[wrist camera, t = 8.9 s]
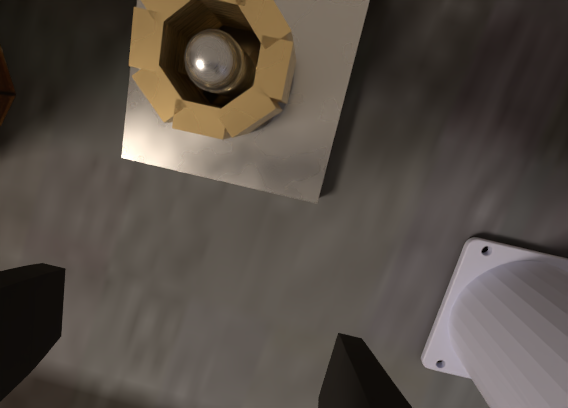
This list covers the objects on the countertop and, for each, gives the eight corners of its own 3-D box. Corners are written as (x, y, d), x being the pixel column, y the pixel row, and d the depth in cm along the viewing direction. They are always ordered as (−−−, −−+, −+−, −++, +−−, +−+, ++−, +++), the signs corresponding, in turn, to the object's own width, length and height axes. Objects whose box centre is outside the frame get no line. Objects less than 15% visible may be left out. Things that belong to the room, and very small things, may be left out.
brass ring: (305, 15, 14) (305, -18, 10) (279, 143, 15) (271, 150, 12) (180, -12, 14) (139, -55, 10) (164, 117, 15) (123, 117, 12)
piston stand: (370, -12, 15) (412, -95, 9) (316, 198, 18) (321, 239, 12) (154, -62, 15) (58, -175, 9) (131, 155, 18) (44, 174, 12)
